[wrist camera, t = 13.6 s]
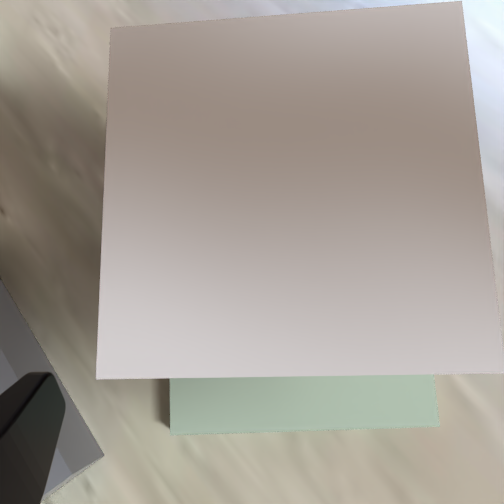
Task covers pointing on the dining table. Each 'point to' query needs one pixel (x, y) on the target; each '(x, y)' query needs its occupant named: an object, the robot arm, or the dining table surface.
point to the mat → (301, 403)
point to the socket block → (73, 427)
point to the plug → (295, 199)
